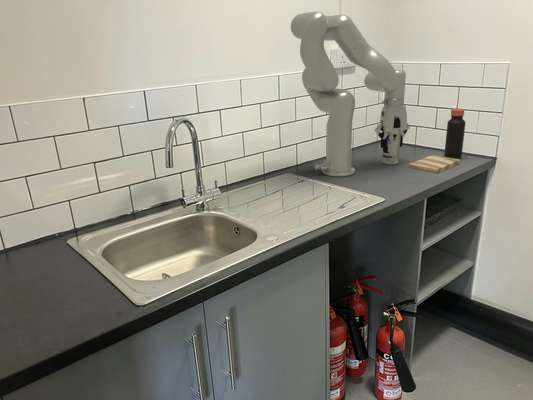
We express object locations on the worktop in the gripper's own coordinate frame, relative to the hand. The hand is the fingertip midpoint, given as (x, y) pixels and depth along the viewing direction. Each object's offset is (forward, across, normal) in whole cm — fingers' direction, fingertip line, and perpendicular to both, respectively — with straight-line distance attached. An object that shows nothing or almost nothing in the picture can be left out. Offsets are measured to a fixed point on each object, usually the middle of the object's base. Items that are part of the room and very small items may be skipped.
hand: (391, 146), depth 178 cm
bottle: (+7, +27, -5) cm, 28 cm away
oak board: (+7, +13, -11) cm, 18 cm away
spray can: (+7, 0, 0) cm, 7 cm away
